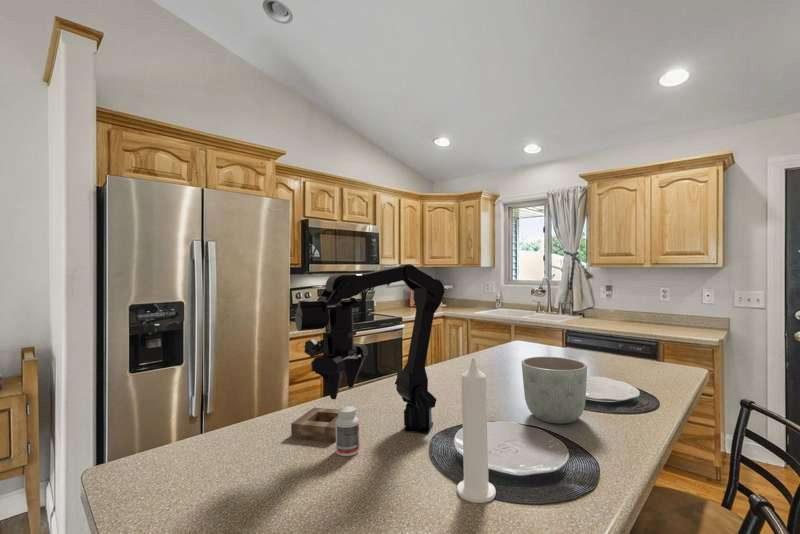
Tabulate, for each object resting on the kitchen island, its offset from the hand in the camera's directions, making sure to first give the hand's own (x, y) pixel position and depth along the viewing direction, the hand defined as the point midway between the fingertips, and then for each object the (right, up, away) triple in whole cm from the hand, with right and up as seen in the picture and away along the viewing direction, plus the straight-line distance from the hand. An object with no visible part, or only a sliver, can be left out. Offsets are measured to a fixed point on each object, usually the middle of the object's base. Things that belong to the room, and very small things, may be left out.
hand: (342, 393), depth 94 cm
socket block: (-6, -13, +10) cm, 17 cm away
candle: (+28, -12, -20) cm, 37 cm away
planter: (+56, -12, +15) cm, 60 cm away
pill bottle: (+2, -13, -3) cm, 13 cm away
